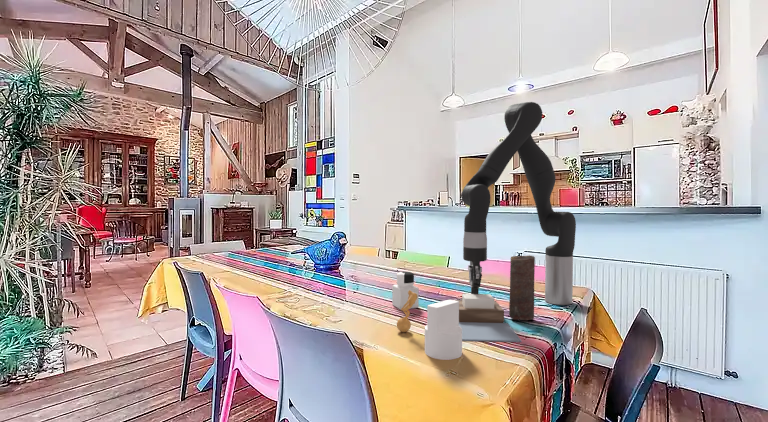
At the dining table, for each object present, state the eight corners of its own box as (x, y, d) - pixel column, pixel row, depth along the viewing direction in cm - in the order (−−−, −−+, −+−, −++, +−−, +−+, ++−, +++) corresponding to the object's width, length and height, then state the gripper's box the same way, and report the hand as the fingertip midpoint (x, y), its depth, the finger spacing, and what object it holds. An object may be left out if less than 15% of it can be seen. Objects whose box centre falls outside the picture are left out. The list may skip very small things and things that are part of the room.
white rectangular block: (462, 303, 127) (462, 293, 127) (490, 303, 127) (490, 294, 127) (464, 308, 121) (464, 298, 121) (494, 308, 121) (494, 299, 121)
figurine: (403, 326, 116) (403, 286, 116) (422, 329, 113) (422, 288, 113) (390, 335, 108) (390, 291, 108) (410, 338, 106) (411, 294, 105)
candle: (536, 324, 118) (536, 257, 118) (510, 322, 120) (511, 257, 119) (531, 317, 126) (532, 254, 125) (507, 315, 127) (508, 254, 127)
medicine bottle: (410, 303, 143) (410, 270, 143) (418, 307, 137) (418, 273, 136) (392, 304, 141) (392, 271, 141) (399, 309, 134) (399, 274, 134)
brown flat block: (452, 311, 132) (453, 300, 132) (495, 312, 131) (495, 300, 131) (456, 322, 120) (457, 309, 120) (503, 323, 119) (504, 310, 119)
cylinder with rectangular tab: (440, 343, 103) (440, 297, 102) (469, 352, 96) (469, 303, 96) (417, 352, 96) (417, 303, 96) (446, 363, 90) (446, 310, 90)
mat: (453, 323, 119) (453, 321, 119) (507, 324, 118) (507, 323, 118) (459, 340, 104) (459, 339, 104) (521, 342, 103) (521, 340, 103)
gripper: (490, 248, 122) (490, 304, 122) (483, 243, 135) (482, 294, 135) (466, 248, 122) (465, 303, 123) (461, 243, 135) (460, 293, 136)
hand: (474, 298), depth 129 cm, fingers closed
